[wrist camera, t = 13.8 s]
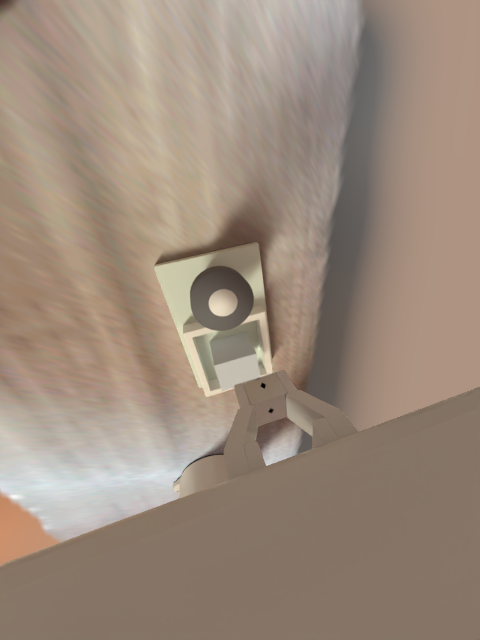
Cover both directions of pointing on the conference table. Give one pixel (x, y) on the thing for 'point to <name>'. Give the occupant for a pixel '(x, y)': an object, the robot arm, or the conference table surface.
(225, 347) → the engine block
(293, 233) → the conference table surface
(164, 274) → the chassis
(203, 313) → the wheel
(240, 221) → the conference table surface
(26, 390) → the conference table surface
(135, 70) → the conference table surface
